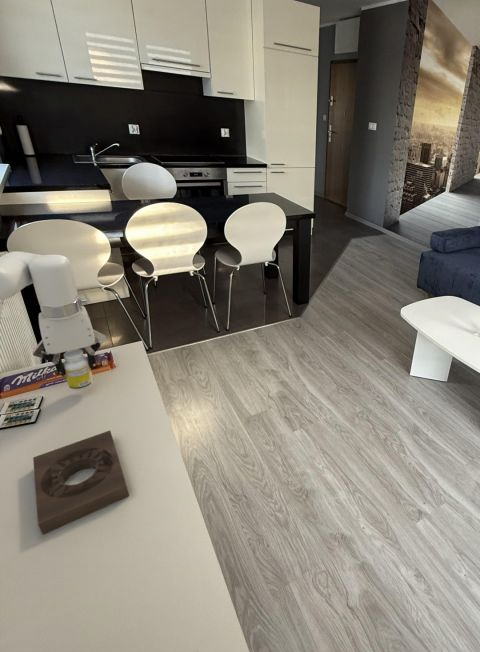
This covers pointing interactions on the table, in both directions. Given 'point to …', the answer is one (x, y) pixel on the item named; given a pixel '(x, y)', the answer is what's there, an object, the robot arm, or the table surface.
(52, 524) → the socket pad
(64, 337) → the robot arm
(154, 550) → the table surface
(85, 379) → the supplement bottle
